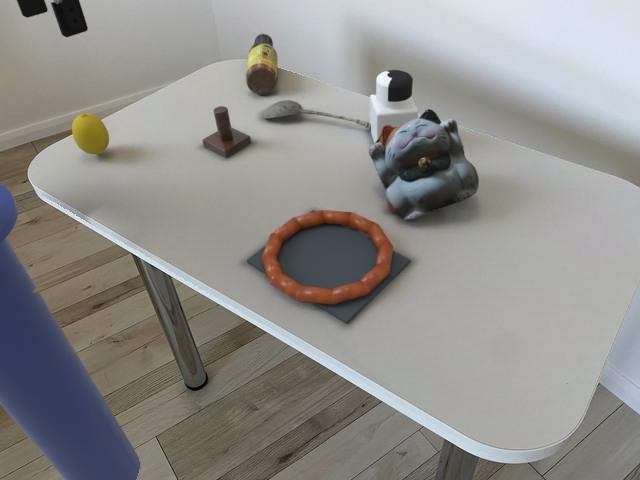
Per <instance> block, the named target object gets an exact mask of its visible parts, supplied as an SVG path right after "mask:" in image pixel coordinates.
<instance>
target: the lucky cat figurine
mask: <svg viewBox="0 0 640 480" xmlns="http://www.w3.org/2000/svg"><path fill="white" fill-rule="evenodd" d="M457 122H458V121H456V120H455V119H454V118H449V119H447V120H444V121H442V120H441V119H440V117H439V116H438V115H437V112H436V111H434V110H433V109H430V108H428V109H426V110H424V112H423V113H422V114H421V115H420V116H418V118H417V119H411V120H409V121H408V122H406V123H404V124H402V125H400V126H399V127H398V128H397V127H393V126H391V125H385V126H383V127H382V132H381V134H380V137H379V139H378V140H377V141H376V142H375V143H374V142H373V144H372V145H371V146H370V147H369V148H368V155H369V157H370V159H371V161H372V163H373V166H374V170H375V171H376V172H377V175H378V177H379V180H380V182H381V184H382V186H383V189H384V191H385V195H386V203H387V207H388V209H389V210H390V212H391V213H393V214H394V215H396V216H398V217H399V218H400V219H402V220H403V221H408V220H414V219H417V218H420V217H422V216H424V215H426V214H429V213H431V212H434V211H437V210H440V209H443V208H446V207H450V206H453V205H456V204H459V203H461V202H463V201H466V200H467V199H469V198H472V197H473V196H475V194H476V193H477V191H478V190H479V182H480V181H479V179H480V178H479V174H478V171H477V168H476V167H475V166H474V165H473V163H472V162H470V161H469V160H468V159H467V157H466V155H465V153H466V152H465V150H464V147H465V146H464V145H463V141H462V139H461V136H460V134H459V128H458V127H459V126H458V123H457Z"/></svg>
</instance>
